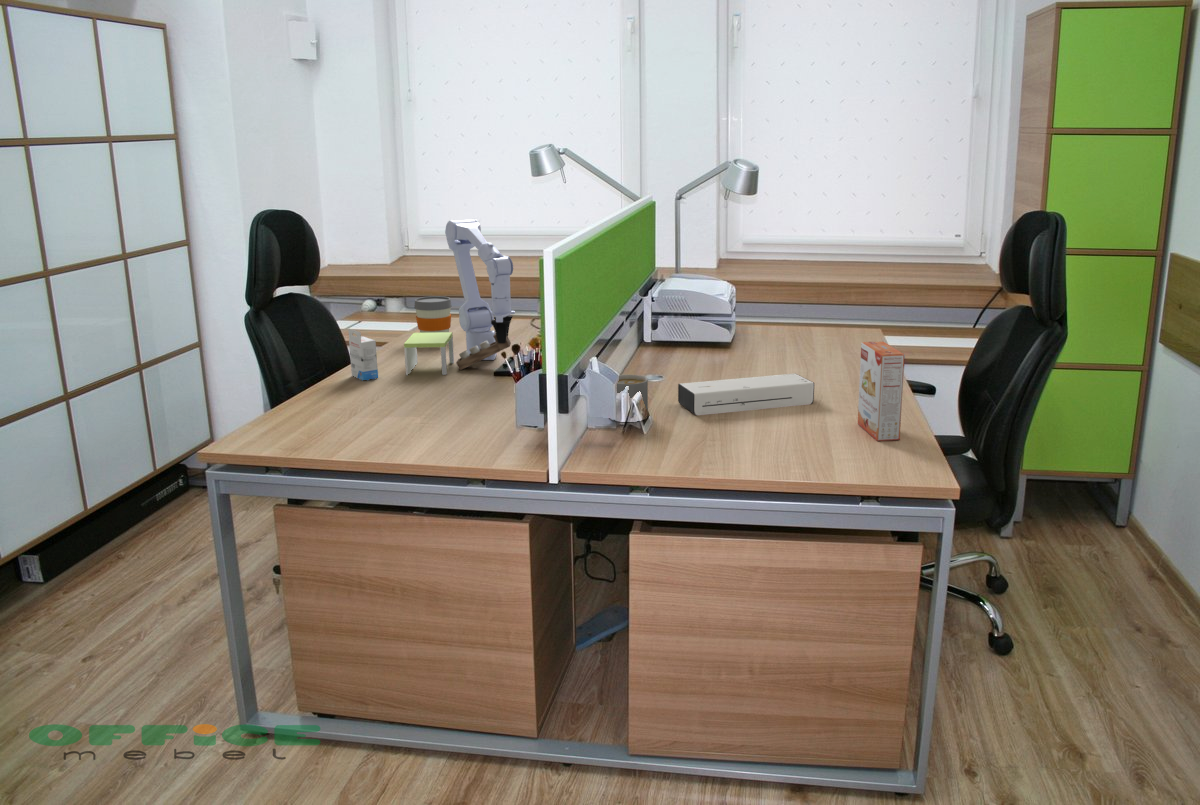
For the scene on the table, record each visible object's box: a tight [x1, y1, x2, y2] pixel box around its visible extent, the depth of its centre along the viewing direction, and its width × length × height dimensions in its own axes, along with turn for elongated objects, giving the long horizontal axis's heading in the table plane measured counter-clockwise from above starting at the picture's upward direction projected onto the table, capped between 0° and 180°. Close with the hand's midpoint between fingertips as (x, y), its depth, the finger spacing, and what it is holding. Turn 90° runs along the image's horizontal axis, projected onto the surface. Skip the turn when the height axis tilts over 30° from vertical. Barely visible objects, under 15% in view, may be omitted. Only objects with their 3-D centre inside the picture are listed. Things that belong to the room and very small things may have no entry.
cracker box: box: [857, 341, 906, 442], centre depth 240 cm, size 14×6×21 cm, turn 5°
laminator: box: [677, 372, 815, 416], centre depth 268 cm, size 34×12×6 cm, turn 106°
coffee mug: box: [617, 374, 649, 412], centre depth 256 cm, size 13×10×10 cm
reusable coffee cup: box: [414, 295, 452, 333], centre depth 348 cm, size 13×13×15 cm
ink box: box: [348, 328, 379, 381], centre depth 301 cm, size 8×5×15 cm, turn 39°
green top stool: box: [403, 331, 455, 376], centre depth 311 cm, size 12×16×10 cm
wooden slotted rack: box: [455, 332, 512, 371], centre depth 310 cm, size 17×5×5 cm, turn 89°
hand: (502, 341), depth 310 cm, fingers closed on wooden slotted rack, 5 cm apart
